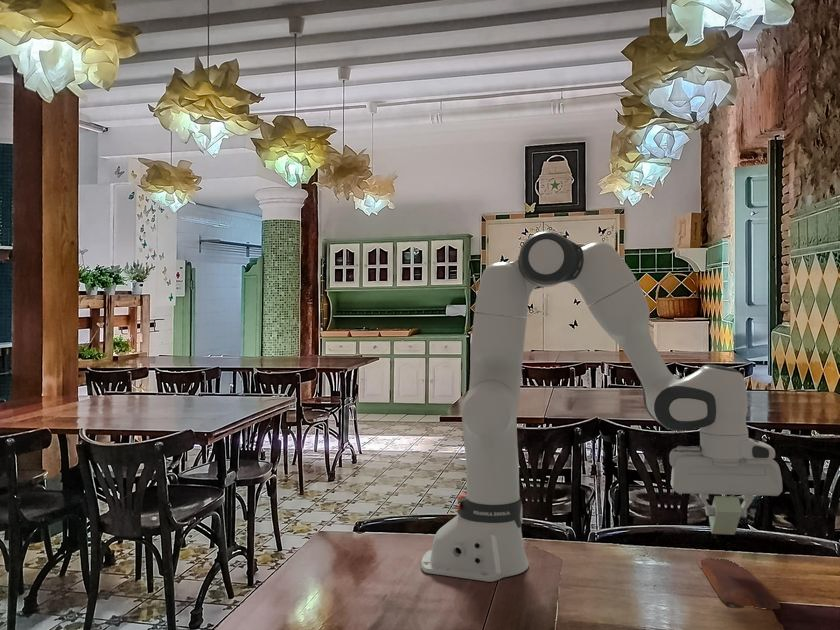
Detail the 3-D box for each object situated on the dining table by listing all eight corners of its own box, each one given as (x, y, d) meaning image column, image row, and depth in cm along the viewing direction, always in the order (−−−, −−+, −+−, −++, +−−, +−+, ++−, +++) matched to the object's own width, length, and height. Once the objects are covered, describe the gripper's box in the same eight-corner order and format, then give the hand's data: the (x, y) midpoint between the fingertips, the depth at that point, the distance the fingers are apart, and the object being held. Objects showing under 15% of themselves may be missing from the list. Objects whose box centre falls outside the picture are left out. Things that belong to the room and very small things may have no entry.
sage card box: (711, 533, 141) (717, 511, 134) (708, 518, 143) (714, 495, 137) (734, 534, 140) (741, 512, 133) (731, 518, 142) (738, 496, 136)
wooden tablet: (785, 614, 121) (784, 604, 121) (724, 610, 123) (724, 601, 123) (740, 559, 147) (740, 551, 147) (691, 557, 149) (691, 549, 149)
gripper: (671, 448, 136) (673, 518, 136) (784, 450, 132) (786, 522, 132) (666, 442, 142) (668, 509, 142) (774, 444, 138) (776, 513, 138)
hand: (726, 516), depth 137 cm, fingers closed on sage card box, 4 cm apart
